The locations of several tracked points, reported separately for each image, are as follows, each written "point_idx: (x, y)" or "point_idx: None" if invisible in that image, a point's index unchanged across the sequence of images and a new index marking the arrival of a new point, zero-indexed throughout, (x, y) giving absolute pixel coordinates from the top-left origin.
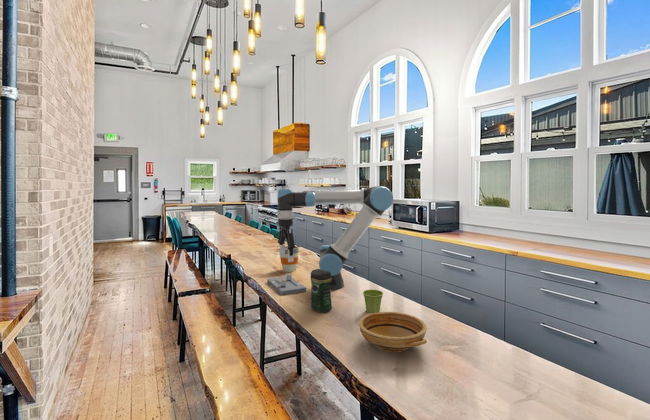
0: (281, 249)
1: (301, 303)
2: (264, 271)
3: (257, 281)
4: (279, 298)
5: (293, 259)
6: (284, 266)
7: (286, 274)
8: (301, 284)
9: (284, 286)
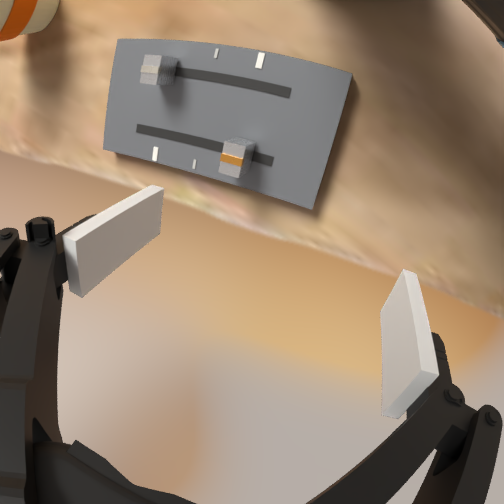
0: (115, 254)
1: (466, 218)
2: (15, 96)
3: (87, 172)
4: (346, 238)
5: (419, 285)
6: (28, 29)
7: (148, 83)
8: (281, 56)
9: None
